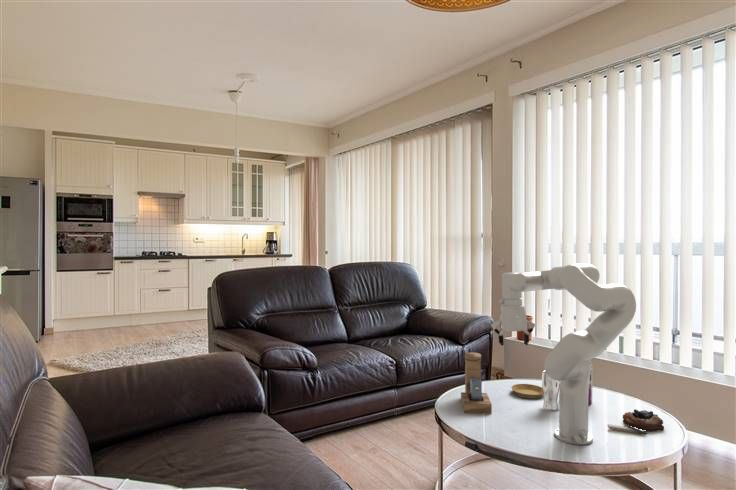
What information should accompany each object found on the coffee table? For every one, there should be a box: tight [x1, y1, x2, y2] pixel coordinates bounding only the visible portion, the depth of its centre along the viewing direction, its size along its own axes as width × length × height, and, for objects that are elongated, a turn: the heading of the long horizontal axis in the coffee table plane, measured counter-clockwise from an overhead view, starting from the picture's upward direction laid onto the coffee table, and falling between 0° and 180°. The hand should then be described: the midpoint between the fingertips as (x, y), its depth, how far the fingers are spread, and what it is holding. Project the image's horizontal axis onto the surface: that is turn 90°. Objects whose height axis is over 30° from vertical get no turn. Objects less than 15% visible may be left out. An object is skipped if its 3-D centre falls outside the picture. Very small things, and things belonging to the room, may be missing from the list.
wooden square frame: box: [460, 351, 493, 415], centre depth 199 cm, size 20×11×20 cm, turn 174°
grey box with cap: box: [470, 377, 483, 401], centre depth 195 cm, size 7×4×12 cm, turn 175°
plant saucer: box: [511, 383, 544, 399], centre depth 211 cm, size 15×15×3 cm
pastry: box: [622, 409, 665, 432], centre depth 176 cm, size 11×12×6 cm
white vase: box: [541, 370, 560, 412], centre depth 194 cm, size 7×7×15 cm
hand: (513, 344), depth 189 cm, fingers open, 9 cm apart
